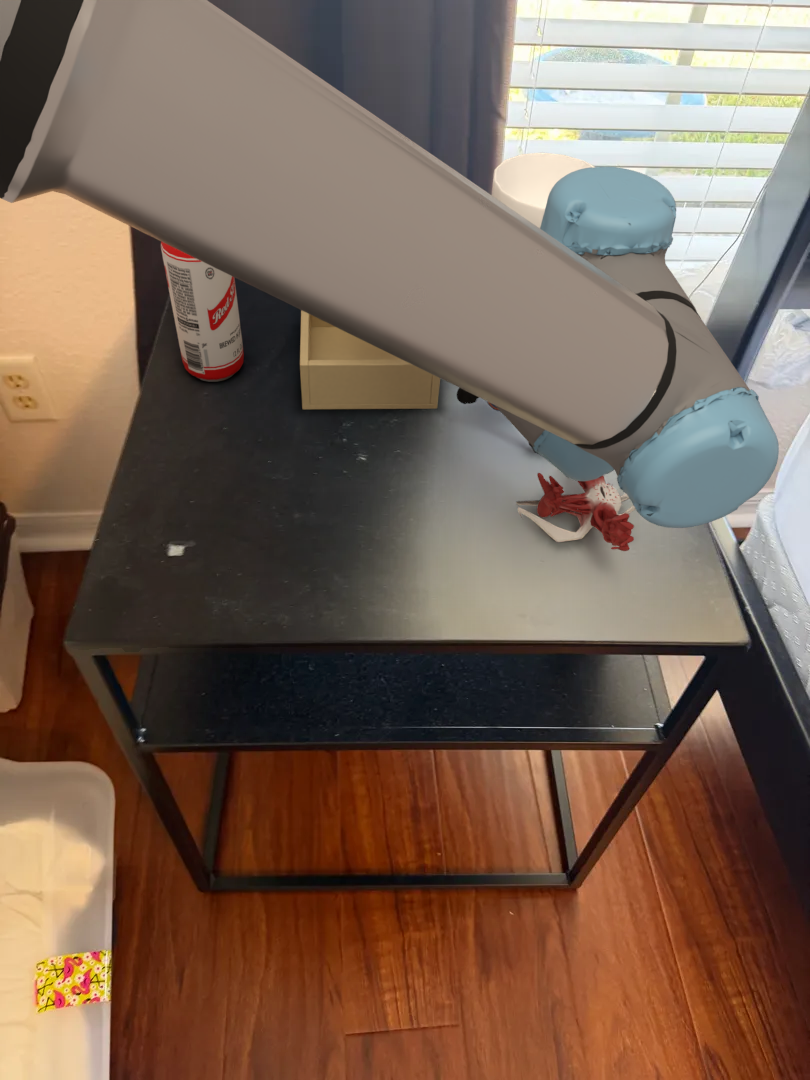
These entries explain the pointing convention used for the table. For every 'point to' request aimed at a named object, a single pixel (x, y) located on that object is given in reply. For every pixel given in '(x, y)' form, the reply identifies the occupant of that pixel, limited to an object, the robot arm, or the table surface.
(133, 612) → the table surface
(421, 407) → the open wooden box
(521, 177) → the cup
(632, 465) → the robot arm
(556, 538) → the figurine
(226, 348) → the beer can
